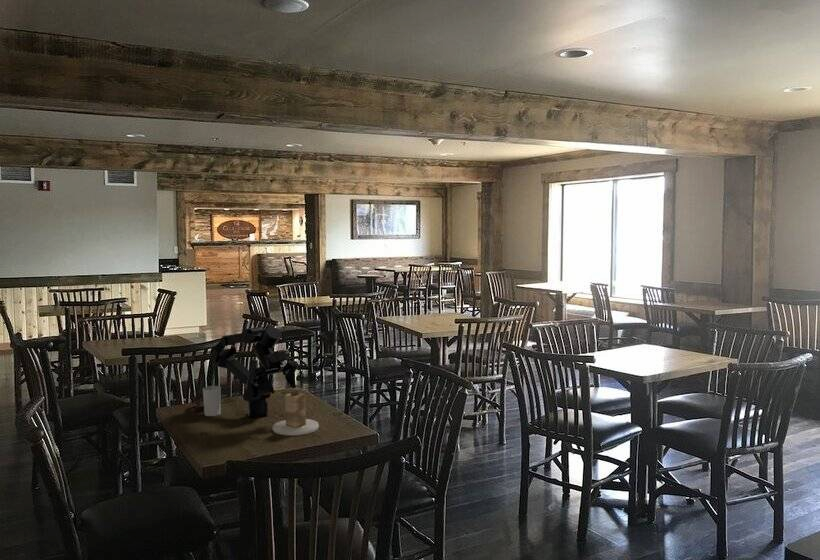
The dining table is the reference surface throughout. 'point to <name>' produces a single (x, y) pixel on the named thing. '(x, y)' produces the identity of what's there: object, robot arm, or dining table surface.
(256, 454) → the dining table surface
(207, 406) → the drinking glass
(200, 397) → the pottery mug
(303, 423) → the pepper mill
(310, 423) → the cream plate
